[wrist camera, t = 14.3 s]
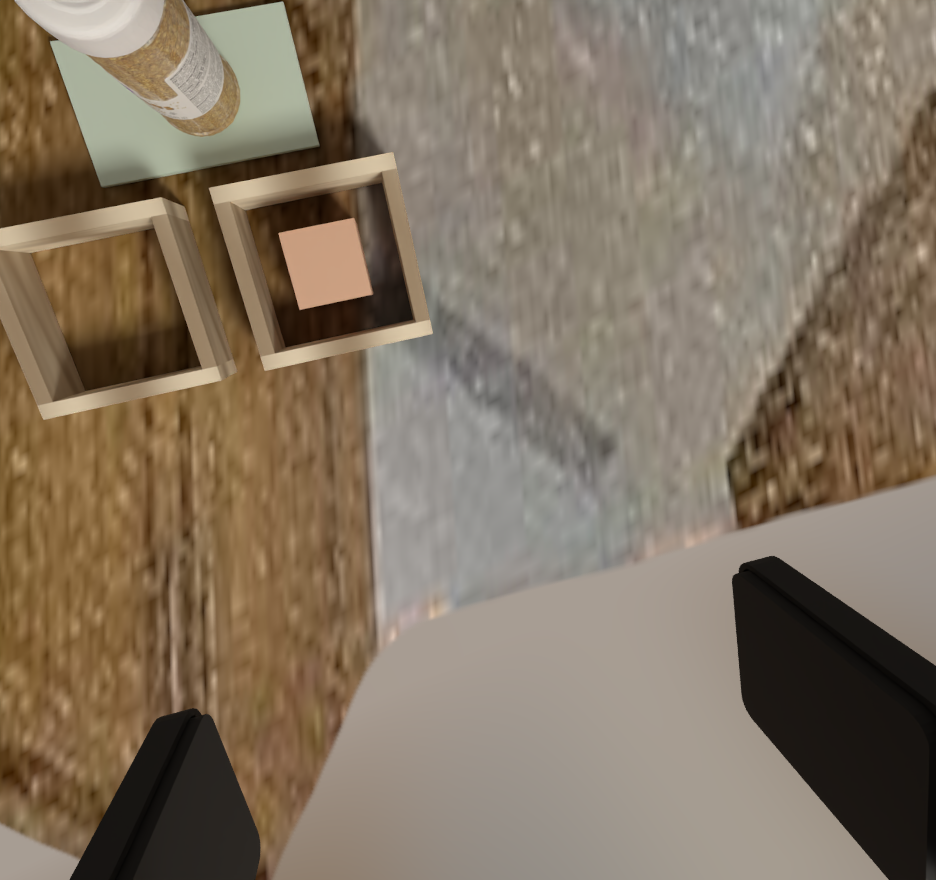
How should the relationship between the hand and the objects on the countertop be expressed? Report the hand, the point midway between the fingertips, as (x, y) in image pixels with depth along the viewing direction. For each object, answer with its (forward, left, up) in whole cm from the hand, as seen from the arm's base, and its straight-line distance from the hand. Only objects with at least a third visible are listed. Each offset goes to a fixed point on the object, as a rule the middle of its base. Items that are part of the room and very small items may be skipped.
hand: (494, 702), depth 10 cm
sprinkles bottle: (+7, -19, -28) cm, 35 cm away
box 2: (+3, -9, -28) cm, 30 cm away
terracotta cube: (+3, -9, -28) cm, 30 cm away
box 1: (+15, -9, -28) cm, 33 cm away
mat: (+8, -19, -28) cm, 35 cm away
